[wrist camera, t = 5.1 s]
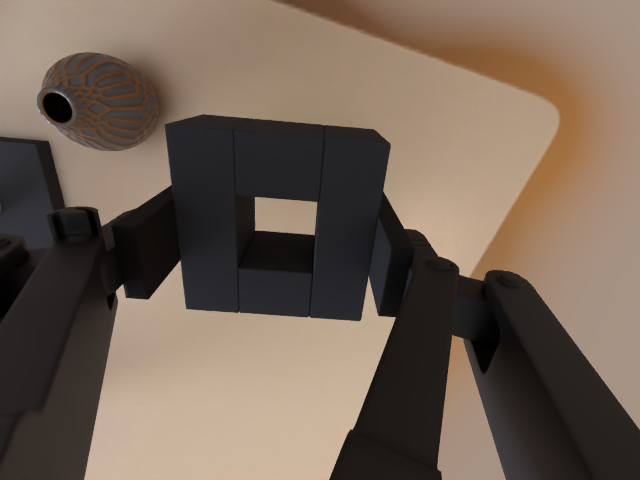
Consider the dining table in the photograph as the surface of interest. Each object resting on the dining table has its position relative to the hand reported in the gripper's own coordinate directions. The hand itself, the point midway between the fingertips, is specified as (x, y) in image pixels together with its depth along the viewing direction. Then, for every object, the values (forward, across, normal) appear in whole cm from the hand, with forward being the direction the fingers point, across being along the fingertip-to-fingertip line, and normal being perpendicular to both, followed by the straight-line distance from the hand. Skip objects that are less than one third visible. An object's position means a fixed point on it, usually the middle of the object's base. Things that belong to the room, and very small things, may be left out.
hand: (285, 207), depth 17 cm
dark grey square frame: (0, 0, 0) cm, 0 cm away
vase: (+15, -15, +3) cm, 22 cm away
